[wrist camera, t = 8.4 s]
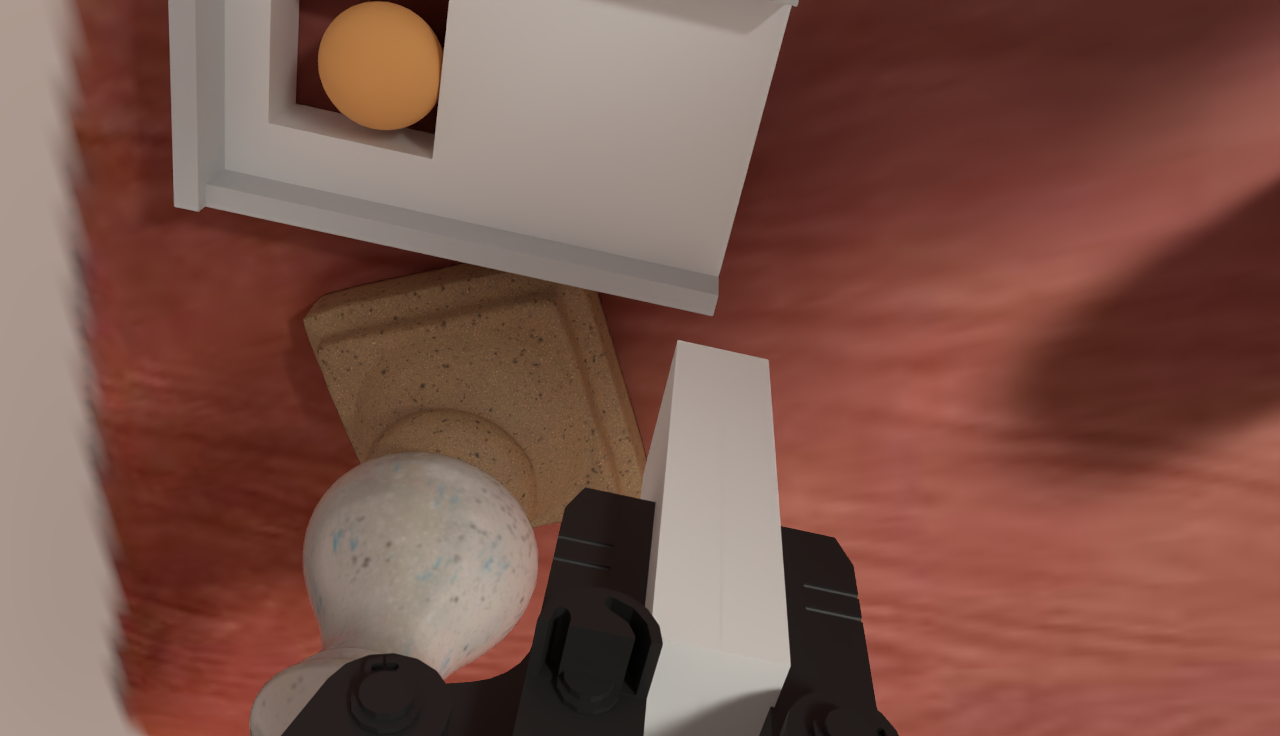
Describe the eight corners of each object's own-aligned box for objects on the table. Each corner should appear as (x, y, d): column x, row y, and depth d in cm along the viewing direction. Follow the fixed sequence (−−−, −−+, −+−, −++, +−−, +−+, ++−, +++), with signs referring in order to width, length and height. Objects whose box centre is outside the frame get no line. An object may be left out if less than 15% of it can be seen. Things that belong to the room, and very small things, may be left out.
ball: (293, -14, 31) (389, 23, 29) (387, -15, 34) (478, 19, 32) (287, 114, 33) (377, 154, 31) (377, 102, 36) (462, 138, 34)
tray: (233, -172, 31) (163, -169, 27) (795, -42, 32) (806, -20, 28) (232, 163, 37) (174, 206, 33) (713, 268, 37) (712, 323, 34)
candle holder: (653, 475, 42) (589, 1126, 21) (411, 516, 44) (137, 1150, 23) (581, 237, 37) (408, 786, 16) (312, 295, 39) (-148, 851, 18)
